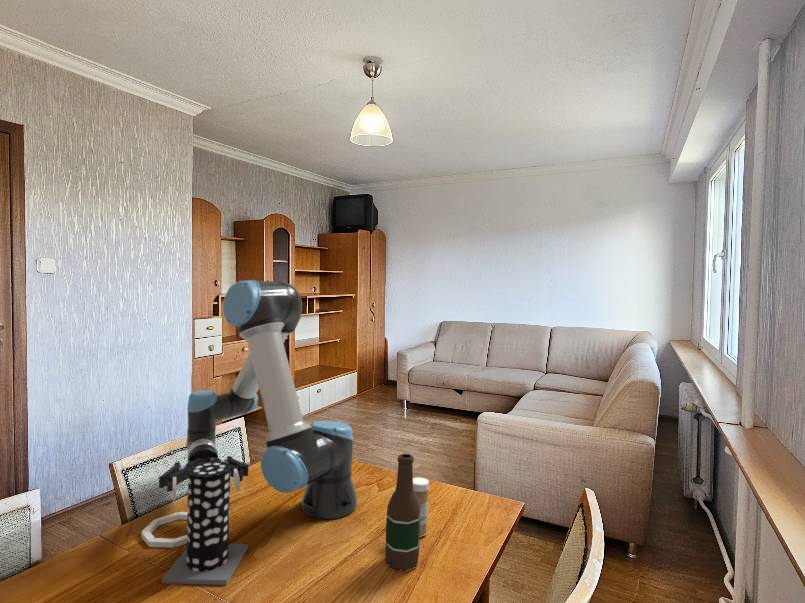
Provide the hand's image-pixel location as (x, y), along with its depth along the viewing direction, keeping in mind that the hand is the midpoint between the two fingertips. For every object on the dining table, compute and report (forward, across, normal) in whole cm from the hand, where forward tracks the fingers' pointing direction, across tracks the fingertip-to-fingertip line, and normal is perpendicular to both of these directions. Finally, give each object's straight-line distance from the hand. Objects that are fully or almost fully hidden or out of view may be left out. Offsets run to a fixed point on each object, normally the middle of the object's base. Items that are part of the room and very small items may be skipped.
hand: (207, 489), depth 106 cm
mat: (+8, 0, -13) cm, 16 cm away
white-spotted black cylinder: (+8, 0, -12) cm, 15 cm away
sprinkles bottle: (+15, -48, -13) cm, 52 cm away
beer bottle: (+24, -39, -13) cm, 48 cm away
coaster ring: (-9, +6, -13) cm, 17 cm away
